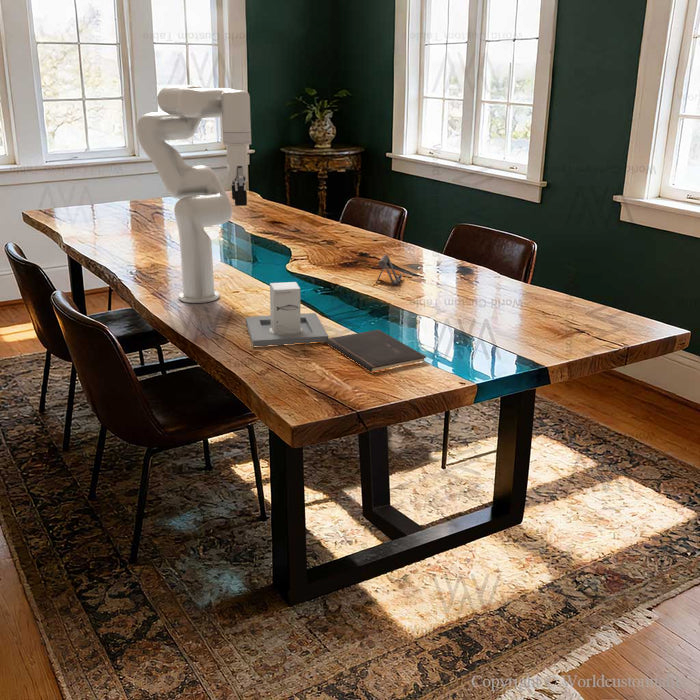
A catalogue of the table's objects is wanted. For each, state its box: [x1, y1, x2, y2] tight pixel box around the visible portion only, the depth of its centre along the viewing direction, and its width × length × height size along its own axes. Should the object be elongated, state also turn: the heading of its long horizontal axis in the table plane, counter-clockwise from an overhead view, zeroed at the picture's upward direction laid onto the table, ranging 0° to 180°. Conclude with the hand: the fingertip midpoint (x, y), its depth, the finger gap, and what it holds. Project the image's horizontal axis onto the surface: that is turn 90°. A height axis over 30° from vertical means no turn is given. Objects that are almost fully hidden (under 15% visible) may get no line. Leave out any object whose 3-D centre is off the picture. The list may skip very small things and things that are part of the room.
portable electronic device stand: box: [375, 254, 403, 287], centre depth 266 cm, size 9×8×8 cm
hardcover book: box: [326, 329, 427, 372], centre depth 203 cm, size 16×23×2 cm
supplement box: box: [269, 281, 301, 334], centre depth 215 cm, size 7×7×13 cm
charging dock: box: [245, 312, 329, 348], centre depth 217 cm, size 20×20×2 cm
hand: (239, 202), depth 219 cm, fingers open, 9 cm apart
